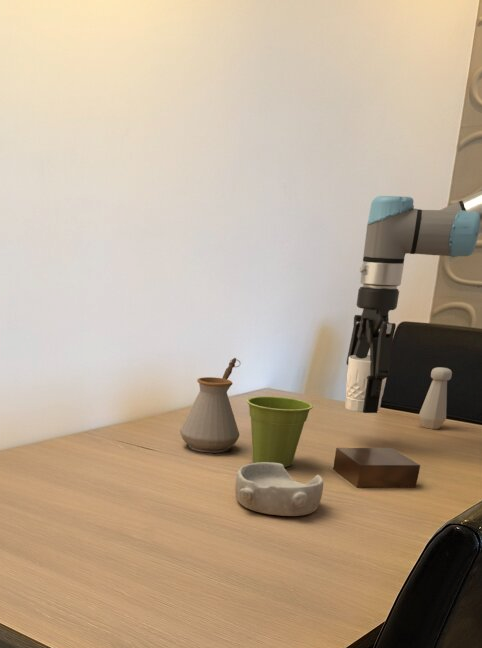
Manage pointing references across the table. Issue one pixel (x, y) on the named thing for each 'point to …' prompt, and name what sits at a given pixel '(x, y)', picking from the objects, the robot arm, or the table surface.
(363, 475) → the riser
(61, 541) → the table surface
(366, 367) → the white cup
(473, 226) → the robot arm
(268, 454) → the plant pot
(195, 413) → the coffee pot
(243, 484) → the dish
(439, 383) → the salt shaker
